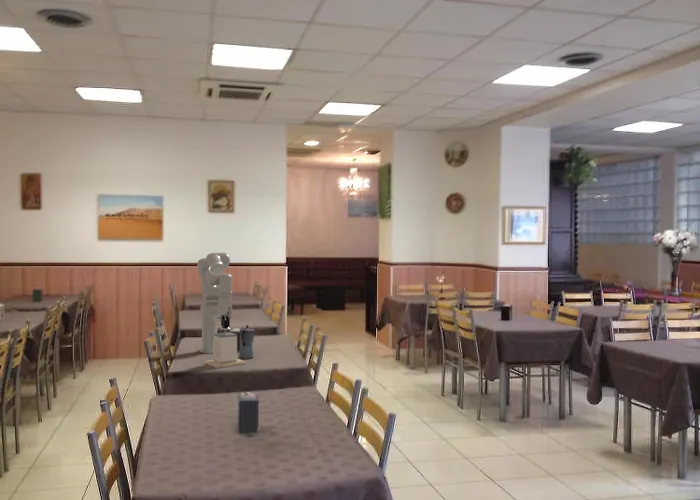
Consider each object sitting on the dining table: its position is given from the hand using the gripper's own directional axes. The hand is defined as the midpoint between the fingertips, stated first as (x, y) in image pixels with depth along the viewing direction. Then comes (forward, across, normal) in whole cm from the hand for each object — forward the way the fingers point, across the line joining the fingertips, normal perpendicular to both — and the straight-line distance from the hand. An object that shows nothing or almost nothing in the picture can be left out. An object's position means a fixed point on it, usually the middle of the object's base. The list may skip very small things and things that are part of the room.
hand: (225, 326), depth 384 cm
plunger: (+19, 0, 0) cm, 19 cm away
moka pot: (+22, -8, +18) cm, 30 cm away
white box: (+22, 0, 0) cm, 22 cm away
